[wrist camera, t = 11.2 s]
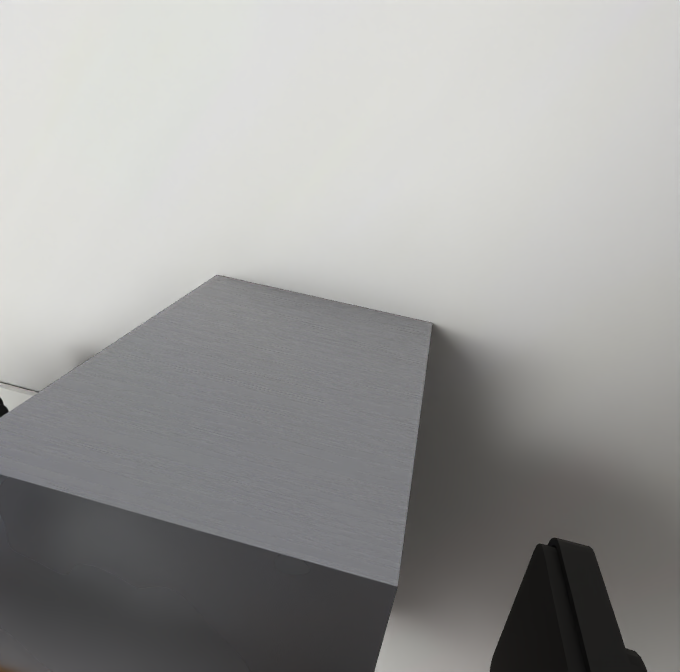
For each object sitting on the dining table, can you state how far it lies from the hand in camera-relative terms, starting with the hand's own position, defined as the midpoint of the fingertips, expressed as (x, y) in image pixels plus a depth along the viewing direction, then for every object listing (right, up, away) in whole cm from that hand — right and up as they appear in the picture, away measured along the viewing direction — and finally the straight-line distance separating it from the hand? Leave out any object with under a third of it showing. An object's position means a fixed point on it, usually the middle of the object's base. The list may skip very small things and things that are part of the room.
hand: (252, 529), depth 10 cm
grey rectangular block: (+1, +1, +2) cm, 2 cm away
